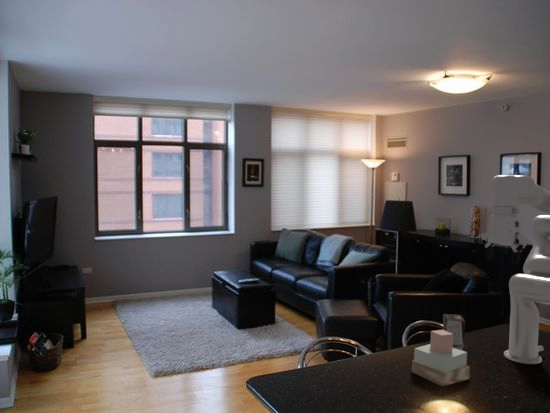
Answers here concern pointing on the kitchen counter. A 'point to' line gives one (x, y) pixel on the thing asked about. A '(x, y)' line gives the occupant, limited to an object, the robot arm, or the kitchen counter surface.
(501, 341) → the kitchen counter surface
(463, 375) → the tower base
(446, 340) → the pink block
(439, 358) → the tower top
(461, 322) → the coffee box
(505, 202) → the robot arm
